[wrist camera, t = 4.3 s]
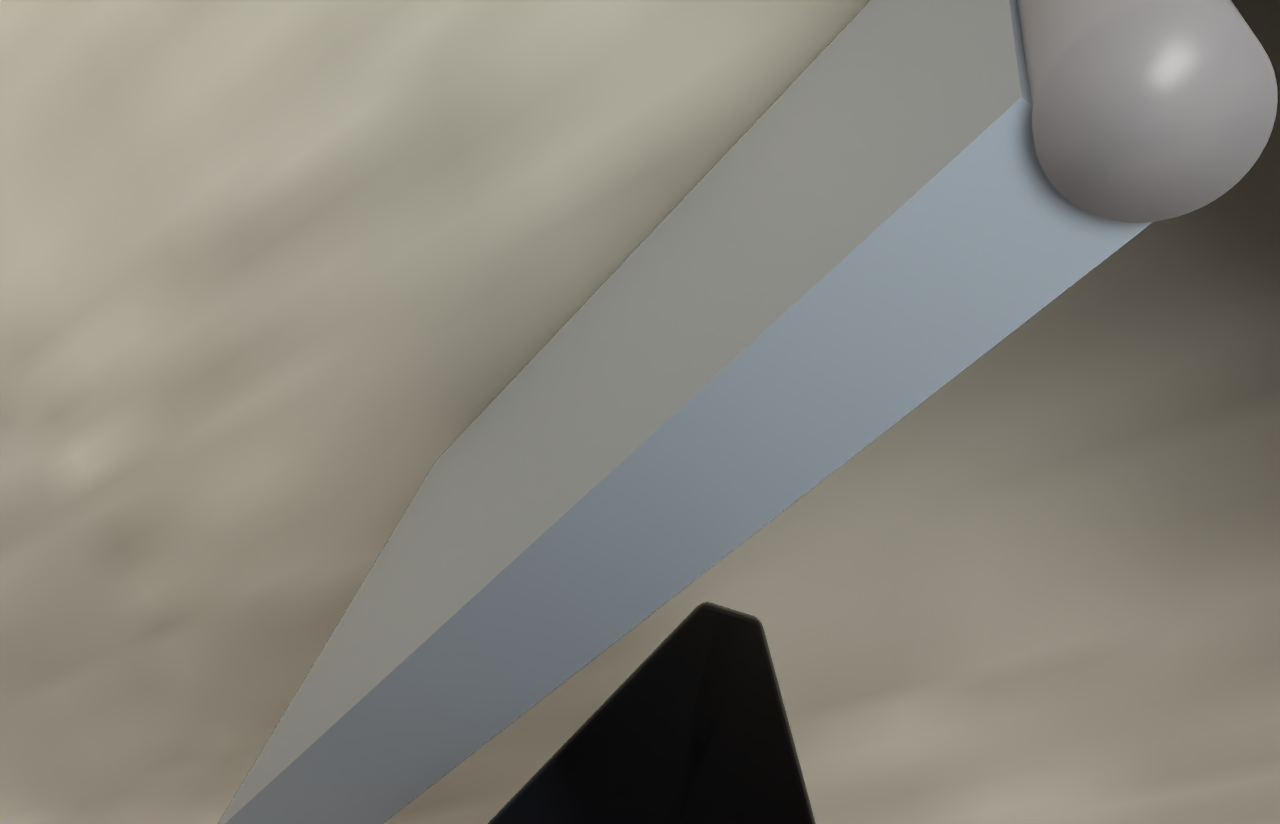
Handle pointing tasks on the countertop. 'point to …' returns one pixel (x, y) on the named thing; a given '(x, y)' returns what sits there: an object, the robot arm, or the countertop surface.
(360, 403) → the countertop surface
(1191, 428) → the countertop surface
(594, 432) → the side door
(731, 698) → the robot arm
